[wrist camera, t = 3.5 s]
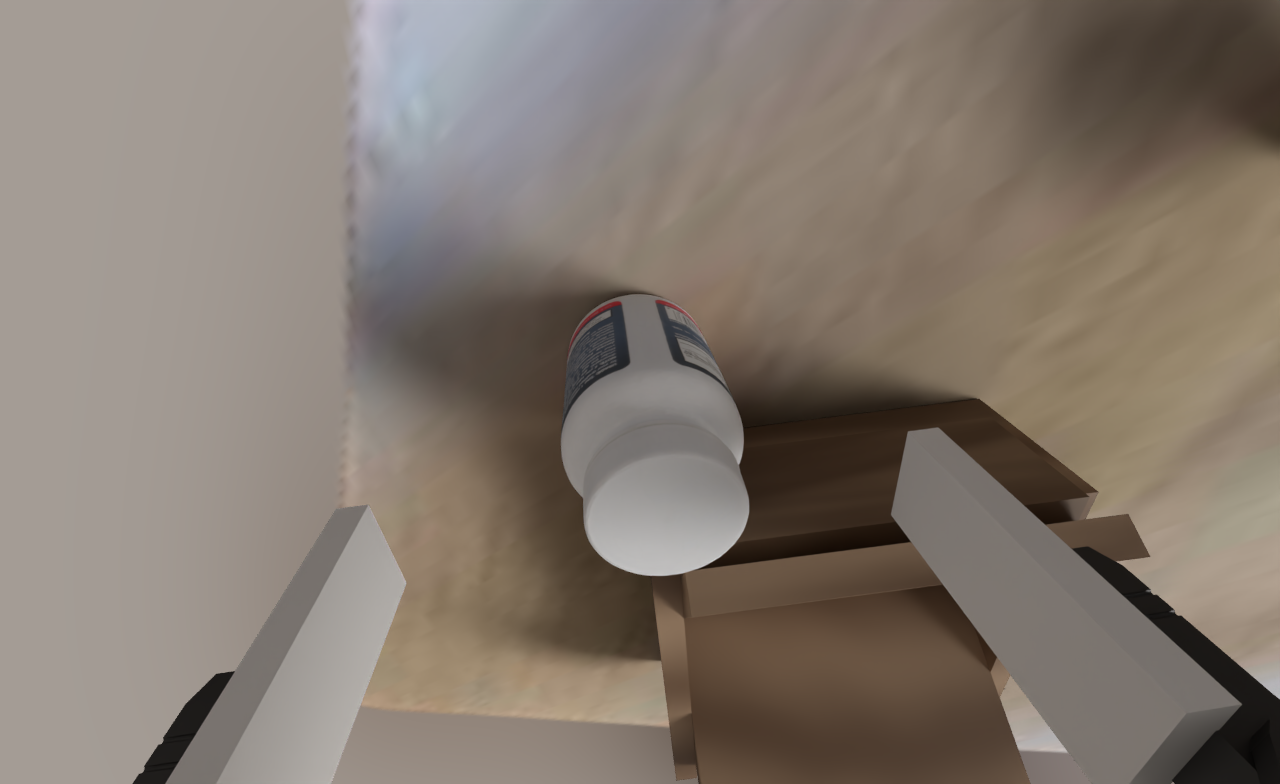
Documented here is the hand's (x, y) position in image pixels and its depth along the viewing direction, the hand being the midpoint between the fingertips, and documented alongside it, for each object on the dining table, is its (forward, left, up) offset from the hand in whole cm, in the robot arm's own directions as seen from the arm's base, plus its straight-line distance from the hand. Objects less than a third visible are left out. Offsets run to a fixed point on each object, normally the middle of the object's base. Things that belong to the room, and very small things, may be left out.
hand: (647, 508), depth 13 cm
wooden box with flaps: (+12, +7, -8) cm, 16 cm away
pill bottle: (0, 0, -8) cm, 8 cm away
